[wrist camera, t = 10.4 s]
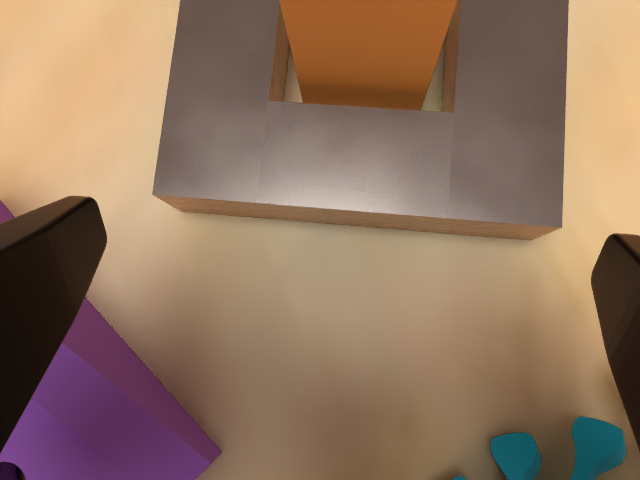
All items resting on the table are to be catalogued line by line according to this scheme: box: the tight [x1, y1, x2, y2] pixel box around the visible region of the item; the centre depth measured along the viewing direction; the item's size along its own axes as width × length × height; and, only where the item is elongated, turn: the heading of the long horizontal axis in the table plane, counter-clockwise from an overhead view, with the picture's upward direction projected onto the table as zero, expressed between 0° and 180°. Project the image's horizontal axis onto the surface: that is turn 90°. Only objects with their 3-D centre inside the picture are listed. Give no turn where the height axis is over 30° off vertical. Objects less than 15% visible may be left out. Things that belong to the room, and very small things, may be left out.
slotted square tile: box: [152, 0, 569, 240], centre depth 17 cm, size 12×12×2 cm
